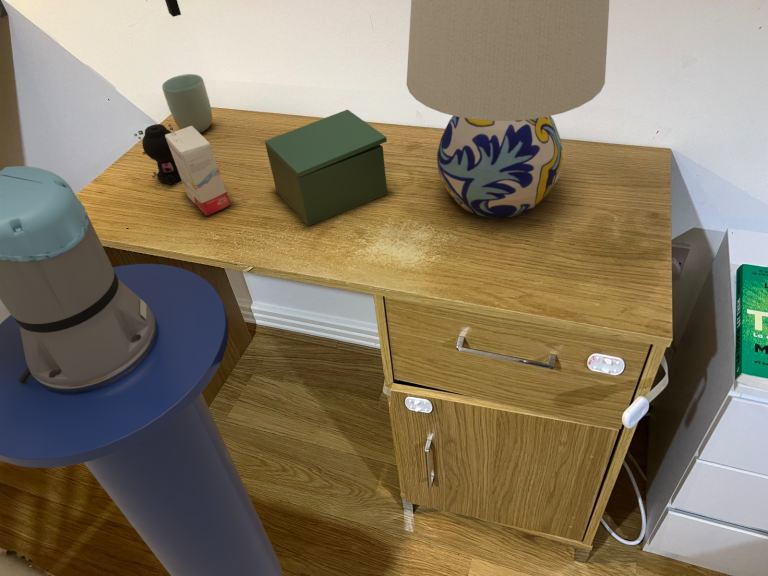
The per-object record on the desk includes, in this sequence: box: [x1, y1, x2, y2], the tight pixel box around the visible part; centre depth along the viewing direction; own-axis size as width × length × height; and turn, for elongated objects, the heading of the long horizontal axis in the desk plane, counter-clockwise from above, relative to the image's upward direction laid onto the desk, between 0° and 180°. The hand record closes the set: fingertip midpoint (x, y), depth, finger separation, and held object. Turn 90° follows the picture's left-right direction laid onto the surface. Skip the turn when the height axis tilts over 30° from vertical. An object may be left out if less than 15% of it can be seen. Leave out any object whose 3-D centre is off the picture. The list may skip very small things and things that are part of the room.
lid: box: [264, 109, 388, 177], centre depth 93 cm, size 15×13×1 cm
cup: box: [161, 73, 213, 134], centre depth 118 cm, size 8×8×10 cm
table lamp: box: [406, 0, 610, 219], centre depth 82 cm, size 27×27×40 cm
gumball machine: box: [133, 123, 181, 187], centre depth 104 cm, size 7×6×10 cm
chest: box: [265, 144, 388, 227], centre depth 96 cm, size 15×13×9 cm
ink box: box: [165, 126, 232, 216], centre depth 97 cm, size 9×5×12 cm, turn 35°
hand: (175, 13), depth 104 cm, fingers closed
